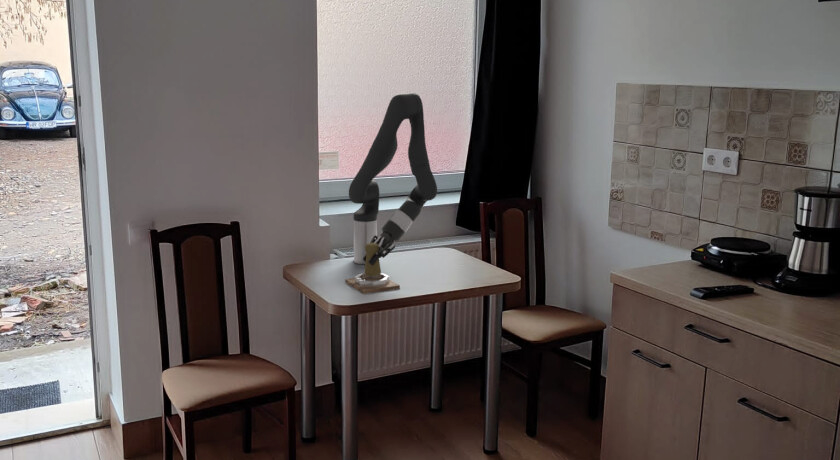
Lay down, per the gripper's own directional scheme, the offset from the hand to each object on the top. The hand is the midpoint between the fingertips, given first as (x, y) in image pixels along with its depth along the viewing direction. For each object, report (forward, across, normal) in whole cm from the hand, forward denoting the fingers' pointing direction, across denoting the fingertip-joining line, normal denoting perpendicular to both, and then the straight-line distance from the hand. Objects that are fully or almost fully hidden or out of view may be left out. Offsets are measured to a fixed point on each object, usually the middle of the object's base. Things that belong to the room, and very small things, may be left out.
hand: (367, 262), depth 275 cm
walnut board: (+5, 0, +8) cm, 9 cm away
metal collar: (+4, 0, +7) cm, 8 cm away
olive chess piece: (+2, 0, +5) cm, 5 cm away
